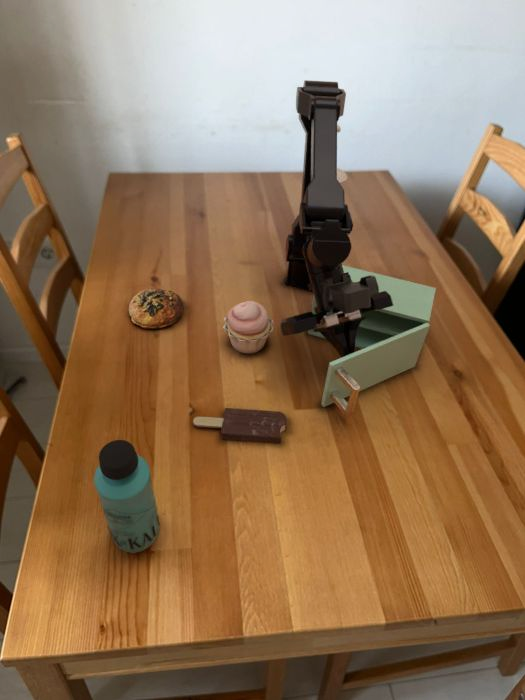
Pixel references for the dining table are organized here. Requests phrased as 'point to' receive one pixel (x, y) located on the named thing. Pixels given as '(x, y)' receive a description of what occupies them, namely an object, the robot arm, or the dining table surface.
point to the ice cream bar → (247, 425)
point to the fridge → (390, 309)
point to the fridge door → (371, 367)
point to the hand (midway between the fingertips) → (350, 363)
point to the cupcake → (248, 327)
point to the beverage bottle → (127, 496)
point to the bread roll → (155, 308)
